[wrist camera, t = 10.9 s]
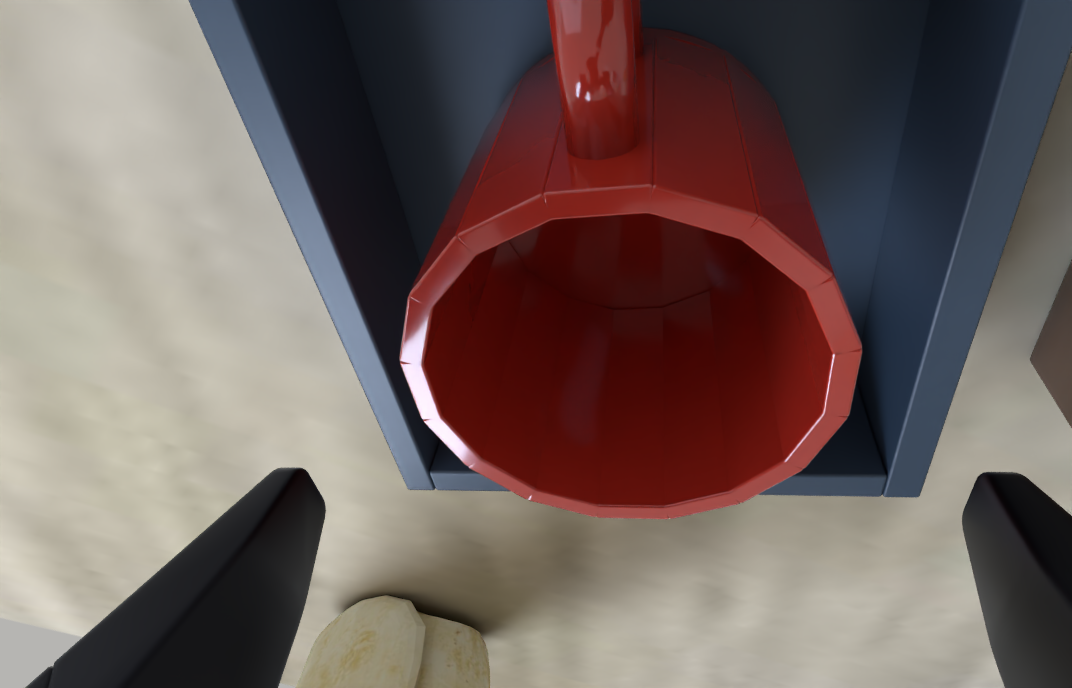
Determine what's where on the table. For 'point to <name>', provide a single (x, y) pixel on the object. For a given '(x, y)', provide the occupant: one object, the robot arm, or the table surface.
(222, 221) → the table surface
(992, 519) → the robot arm
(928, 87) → the dark blue tray
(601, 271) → the mug
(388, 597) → the food model
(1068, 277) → the panel
